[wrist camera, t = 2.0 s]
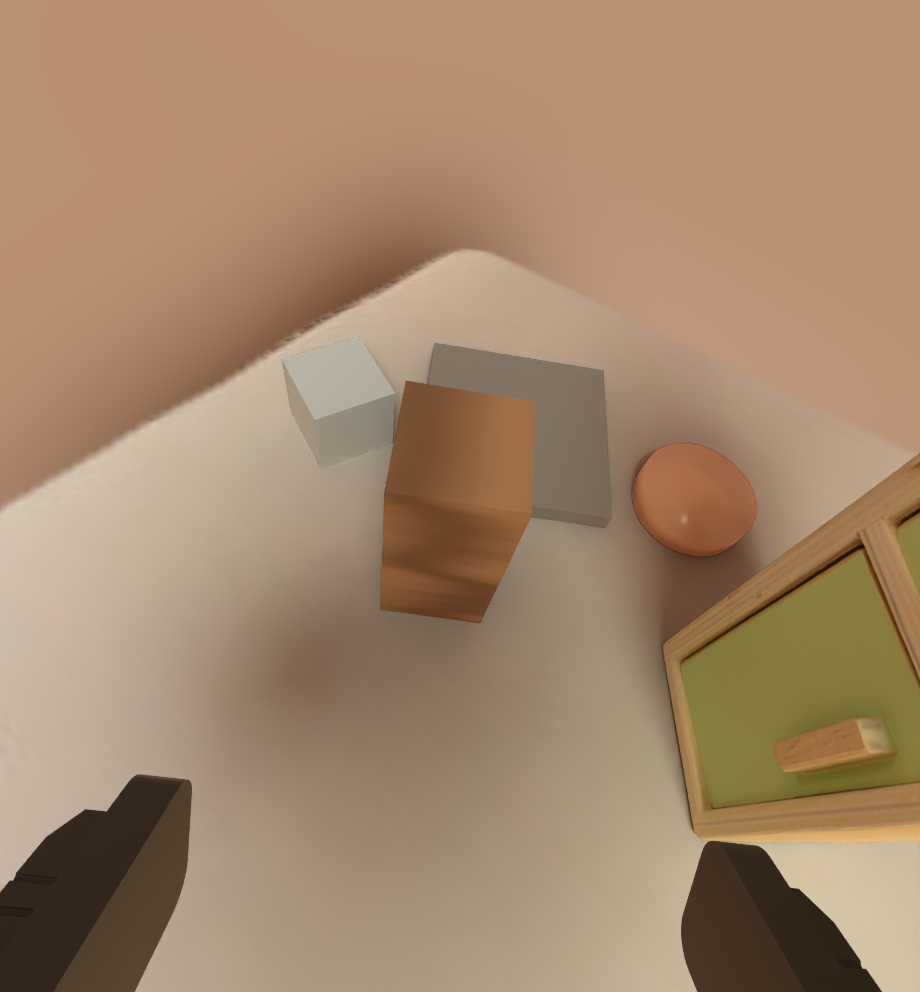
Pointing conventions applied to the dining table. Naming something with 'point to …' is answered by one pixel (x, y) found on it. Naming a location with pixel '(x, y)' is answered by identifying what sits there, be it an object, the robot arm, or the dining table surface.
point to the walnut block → (455, 499)
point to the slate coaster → (546, 425)
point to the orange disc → (693, 500)
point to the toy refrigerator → (811, 686)
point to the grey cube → (340, 400)
